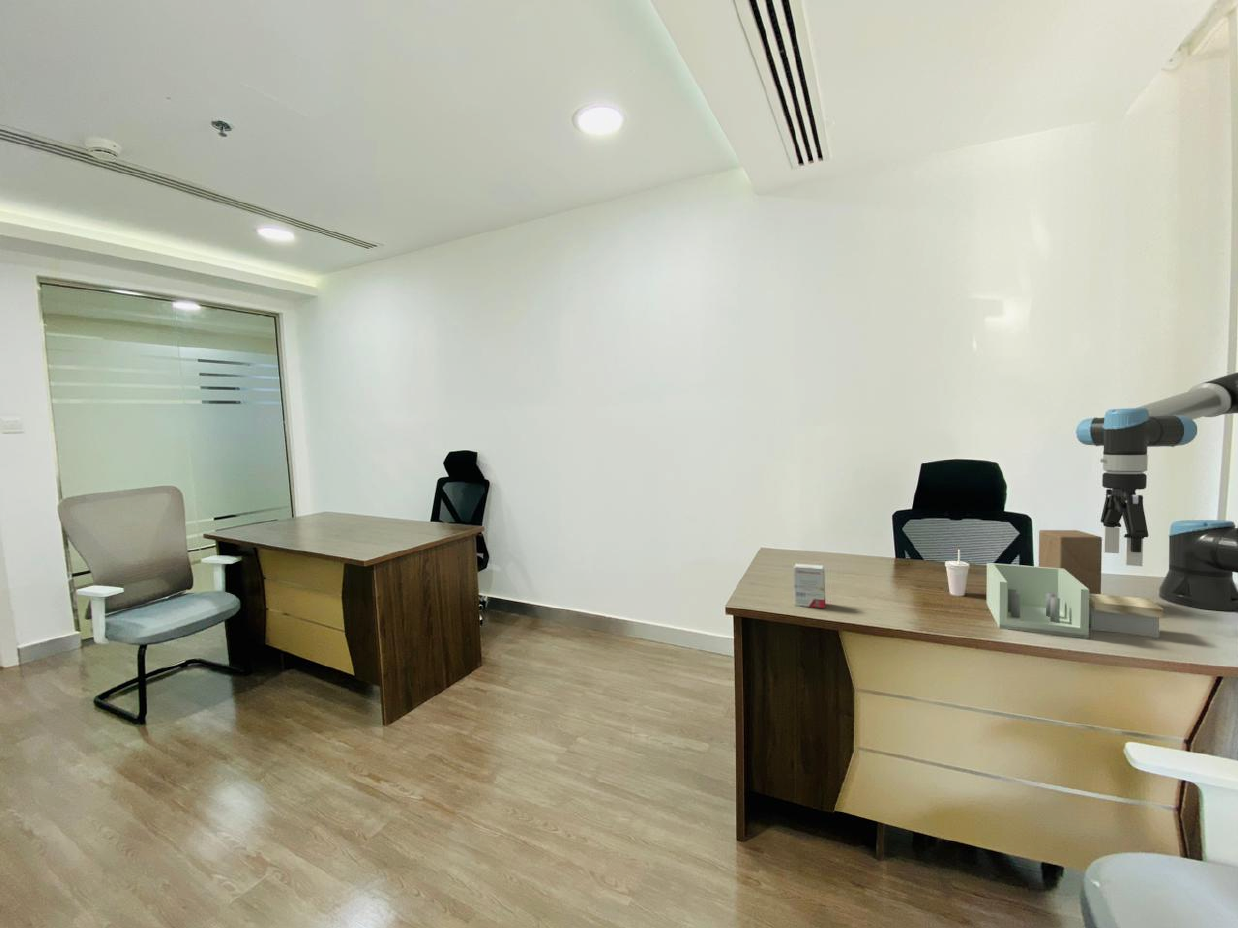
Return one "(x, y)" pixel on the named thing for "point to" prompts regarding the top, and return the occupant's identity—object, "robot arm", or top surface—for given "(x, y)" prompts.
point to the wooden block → (1073, 555)
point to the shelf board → (1125, 605)
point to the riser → (1124, 623)
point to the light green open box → (1038, 600)
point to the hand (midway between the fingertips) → (1121, 558)
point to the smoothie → (957, 576)
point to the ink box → (809, 585)
